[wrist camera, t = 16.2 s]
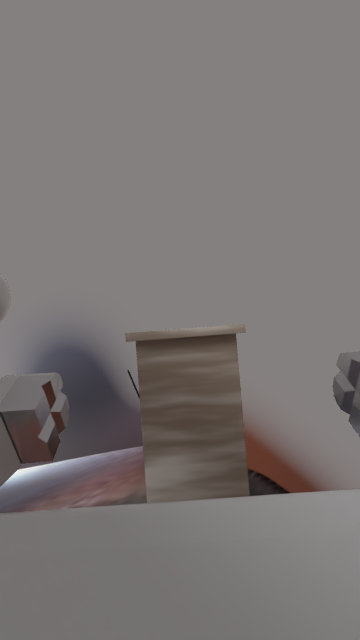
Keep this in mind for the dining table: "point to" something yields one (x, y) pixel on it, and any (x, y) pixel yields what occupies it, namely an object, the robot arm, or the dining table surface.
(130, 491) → the dining table surface
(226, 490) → the birch pedestal
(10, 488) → the dining table surface
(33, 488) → the dining table surface
